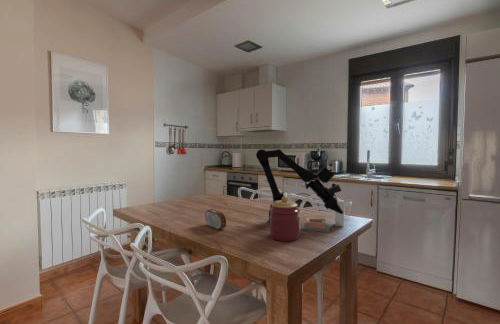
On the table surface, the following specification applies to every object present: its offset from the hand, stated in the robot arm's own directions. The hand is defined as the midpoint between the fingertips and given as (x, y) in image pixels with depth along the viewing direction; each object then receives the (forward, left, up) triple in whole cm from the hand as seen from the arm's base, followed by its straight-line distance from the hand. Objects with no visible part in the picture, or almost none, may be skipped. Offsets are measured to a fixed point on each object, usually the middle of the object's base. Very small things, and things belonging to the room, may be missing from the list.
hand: (342, 212), depth 132 cm
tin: (-57, +28, -7) cm, 64 cm away
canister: (-36, 0, -7) cm, 37 cm away
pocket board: (-14, +4, -7) cm, 16 cm away
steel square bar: (-1, +1, -7) cm, 7 cm away
